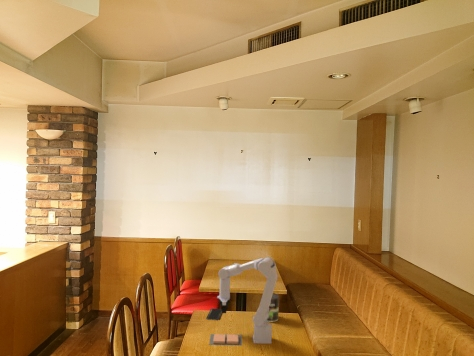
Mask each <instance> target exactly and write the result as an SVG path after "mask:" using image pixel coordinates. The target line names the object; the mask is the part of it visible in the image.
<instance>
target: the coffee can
mask: <svg viewBox="0 0 474 356" xmlns="http://www.w3.org/2000/svg"><path fill="white" fill-rule="evenodd" d="M279 307H280V295H279V294H278V293H274V292H273V295H272V298H271V301H270V305H269V318H268V319H267V322H268V323H275V322H277V321H278V320H279V312H280V310H279V309H280V308H279Z"/></svg>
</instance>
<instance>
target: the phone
mask: <svg viewBox="0 0 474 356" xmlns="http://www.w3.org/2000/svg"><path fill="white" fill-rule="evenodd" d="M222 314H223V313H222V309H221V308H210V309H209V312H208V314H207V316H206V317H205V319H206V320H209V321H219V320H220V319H221V317H222Z"/></svg>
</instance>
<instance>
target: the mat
mask: <svg viewBox="0 0 474 356" xmlns="http://www.w3.org/2000/svg"><path fill="white" fill-rule="evenodd" d="M214 334H215V333H210V335H209V344H208V345H209V346H243V335H242V334H237V335H238V344H227V334H228V333H226V334H225V333H224V334H225V343H224V344H218V343H213V339H214ZM229 334H230V333H229ZM230 335H234V333H233V334H230Z"/></svg>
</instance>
